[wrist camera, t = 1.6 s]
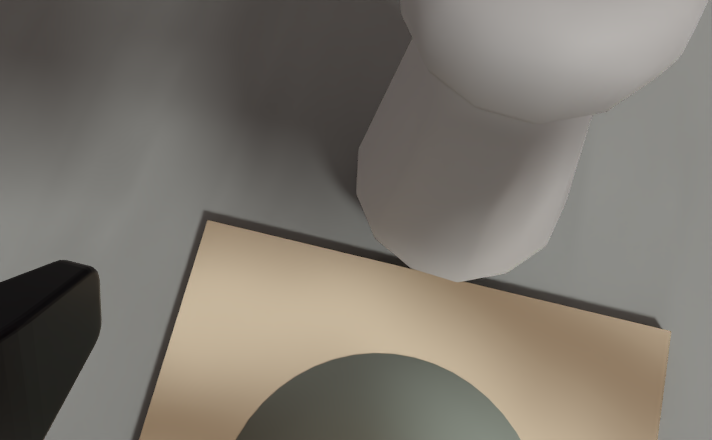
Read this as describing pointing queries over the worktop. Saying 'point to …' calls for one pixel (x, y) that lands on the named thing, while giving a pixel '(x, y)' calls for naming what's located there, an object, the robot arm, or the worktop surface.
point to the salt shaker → (501, 121)
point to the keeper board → (390, 355)
